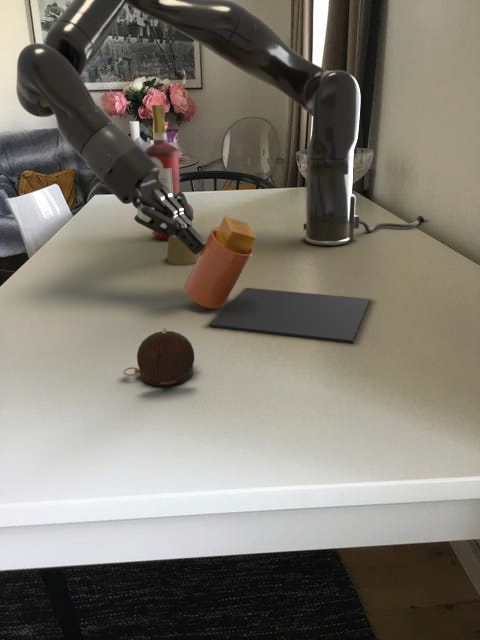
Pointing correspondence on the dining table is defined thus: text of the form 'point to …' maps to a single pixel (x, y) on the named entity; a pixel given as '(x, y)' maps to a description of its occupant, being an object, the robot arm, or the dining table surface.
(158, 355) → the dark brown dome
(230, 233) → the block
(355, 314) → the mat
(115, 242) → the dining table surface
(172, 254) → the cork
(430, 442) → the dining table surface
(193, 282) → the tumbler
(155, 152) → the liquor
